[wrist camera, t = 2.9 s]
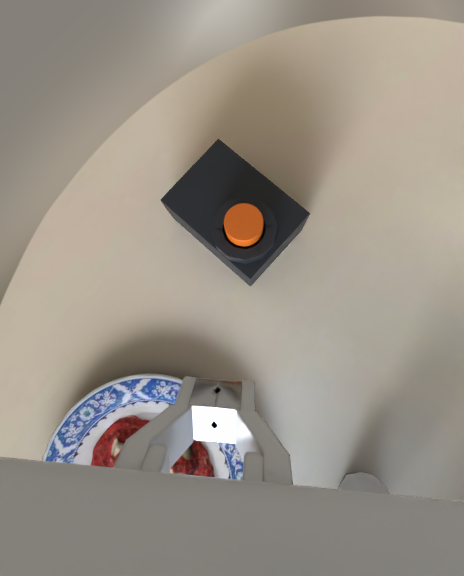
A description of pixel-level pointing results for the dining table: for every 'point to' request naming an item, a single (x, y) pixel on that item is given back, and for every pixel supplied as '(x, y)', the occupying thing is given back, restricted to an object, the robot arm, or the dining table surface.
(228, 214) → the orange push button
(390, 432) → the dining table surface
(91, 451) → the ceramic plate
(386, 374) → the dining table surface
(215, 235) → the button base
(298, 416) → the dining table surface
